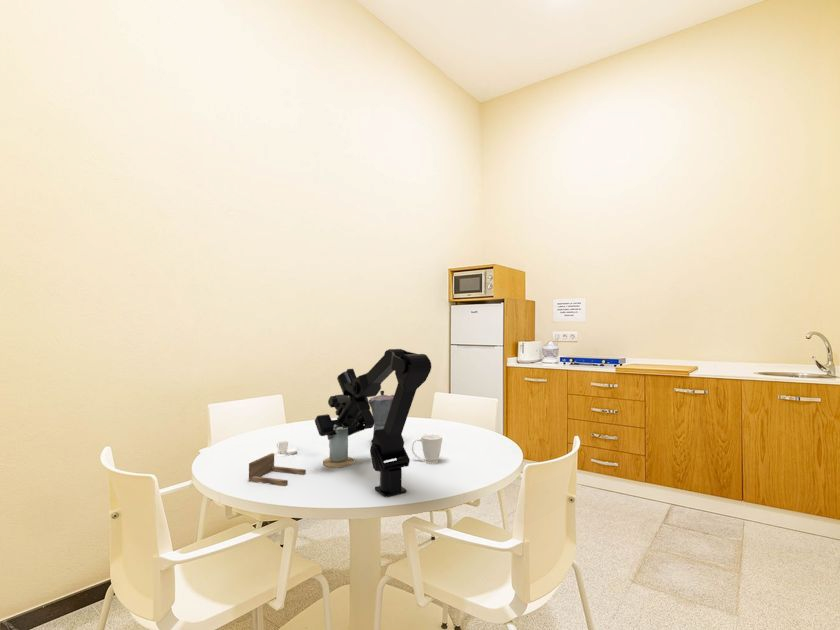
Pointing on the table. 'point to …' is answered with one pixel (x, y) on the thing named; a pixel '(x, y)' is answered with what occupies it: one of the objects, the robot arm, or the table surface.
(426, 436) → the cup
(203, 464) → the table surface
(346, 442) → the jug
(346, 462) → the coaster
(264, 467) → the dock
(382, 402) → the moka pot
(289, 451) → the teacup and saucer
